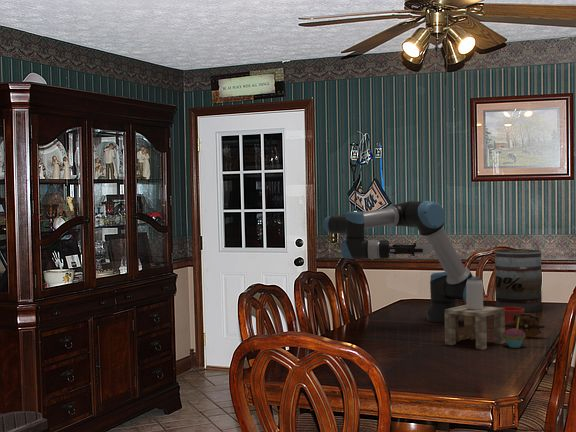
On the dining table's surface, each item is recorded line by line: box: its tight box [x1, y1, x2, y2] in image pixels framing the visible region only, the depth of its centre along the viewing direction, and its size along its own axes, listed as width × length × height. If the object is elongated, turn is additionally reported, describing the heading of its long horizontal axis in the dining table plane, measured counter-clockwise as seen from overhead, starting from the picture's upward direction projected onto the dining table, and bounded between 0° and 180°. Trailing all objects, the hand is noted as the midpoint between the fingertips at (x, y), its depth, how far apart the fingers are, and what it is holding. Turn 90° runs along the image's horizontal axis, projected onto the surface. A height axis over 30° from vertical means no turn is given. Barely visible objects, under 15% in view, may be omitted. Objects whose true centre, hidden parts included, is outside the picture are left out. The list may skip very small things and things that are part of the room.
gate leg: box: [455, 314, 476, 343], centre depth 321 cm, size 13×4×12 cm, turn 131°
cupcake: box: [503, 316, 526, 349], centre depth 307 cm, size 9×8×12 cm
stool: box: [444, 304, 506, 350], centre depth 314 cm, size 17×17×14 cm
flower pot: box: [500, 307, 524, 331], centre depth 342 cm, size 11×11×10 cm
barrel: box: [494, 248, 543, 314], centre depth 399 cm, size 22×22×30 cm
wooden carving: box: [505, 313, 546, 338], centre depth 325 cm, size 16×5×10 cm, turn 70°
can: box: [465, 277, 484, 310], centre depth 314 cm, size 6×6×12 cm
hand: (431, 249), depth 318 cm, fingers open, 13 cm apart
